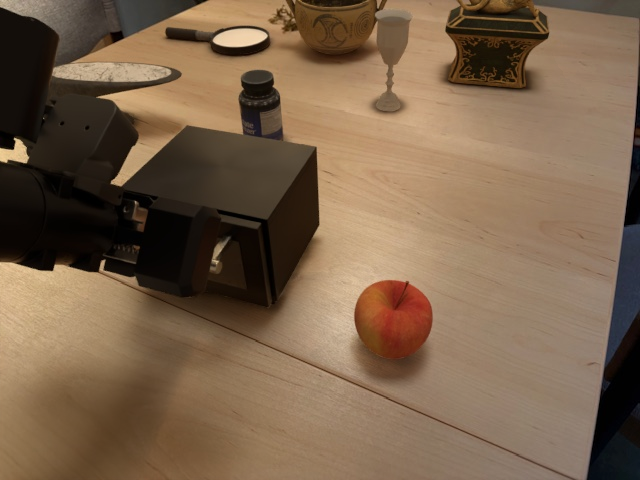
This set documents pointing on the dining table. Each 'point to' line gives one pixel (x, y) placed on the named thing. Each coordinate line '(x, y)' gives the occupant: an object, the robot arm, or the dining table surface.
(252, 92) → the pill bottle
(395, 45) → the chalice
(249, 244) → the oven door
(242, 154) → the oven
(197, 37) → the magnifying glass
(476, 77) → the decorative box
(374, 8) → the ceramic bowl
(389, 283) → the apple
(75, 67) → the coffee table
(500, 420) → the dining table surface
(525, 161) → the dining table surface
